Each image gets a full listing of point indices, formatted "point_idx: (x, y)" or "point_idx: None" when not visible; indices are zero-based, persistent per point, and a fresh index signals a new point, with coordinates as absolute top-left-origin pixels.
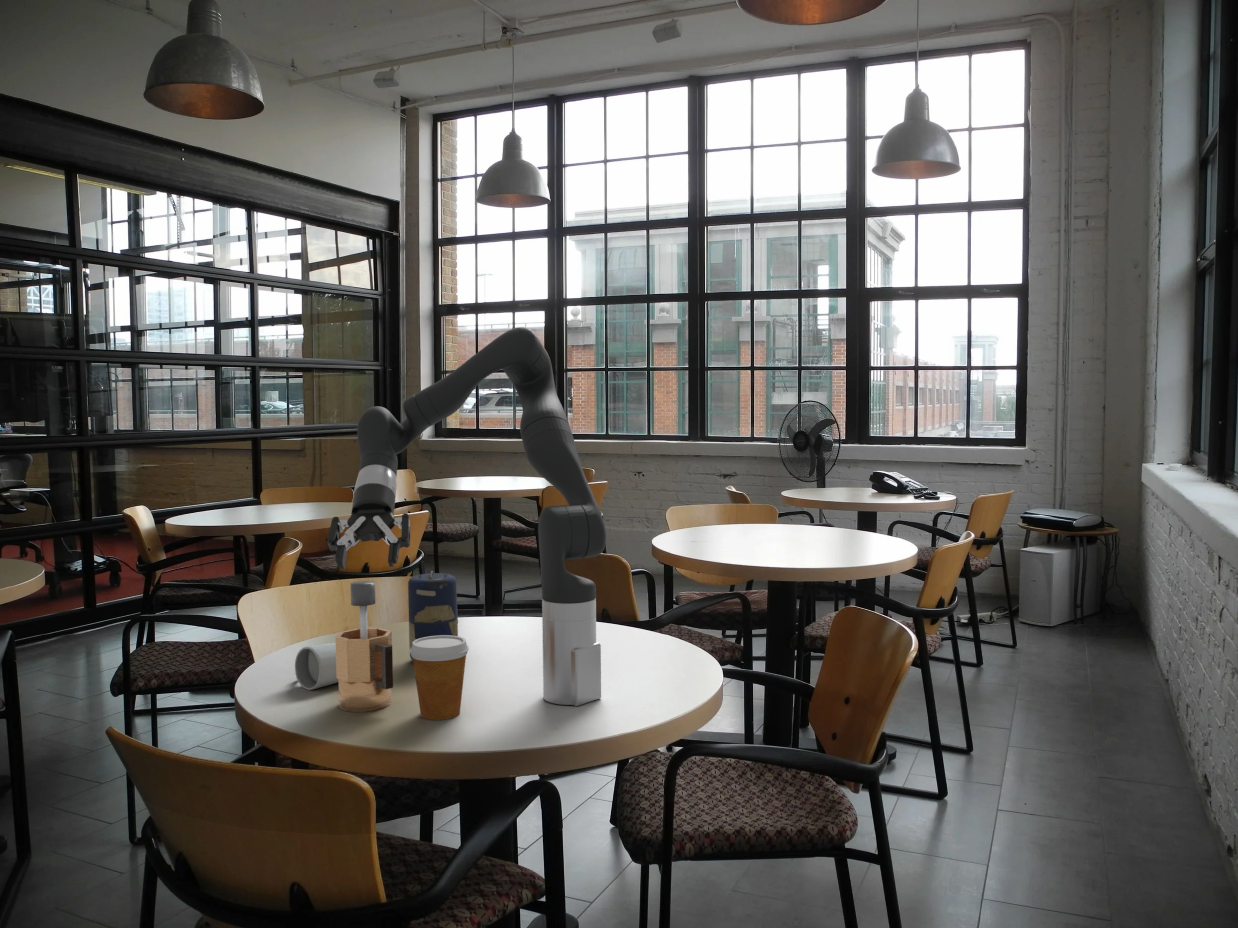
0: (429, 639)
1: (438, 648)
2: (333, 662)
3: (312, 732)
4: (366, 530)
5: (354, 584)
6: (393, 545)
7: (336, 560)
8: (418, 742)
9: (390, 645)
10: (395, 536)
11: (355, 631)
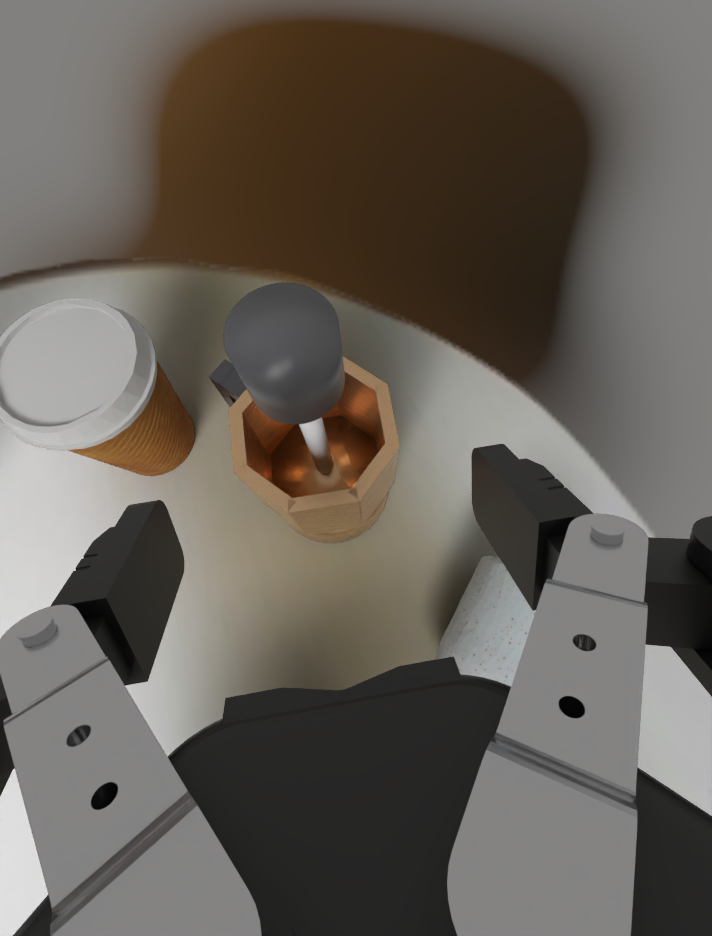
0: (99, 406)
1: (57, 300)
2: (468, 596)
3: (368, 324)
4: (381, 724)
5: (308, 297)
6: (78, 598)
7: (530, 465)
8: (169, 298)
9: (214, 378)
10: (2, 673)
11: (360, 476)
